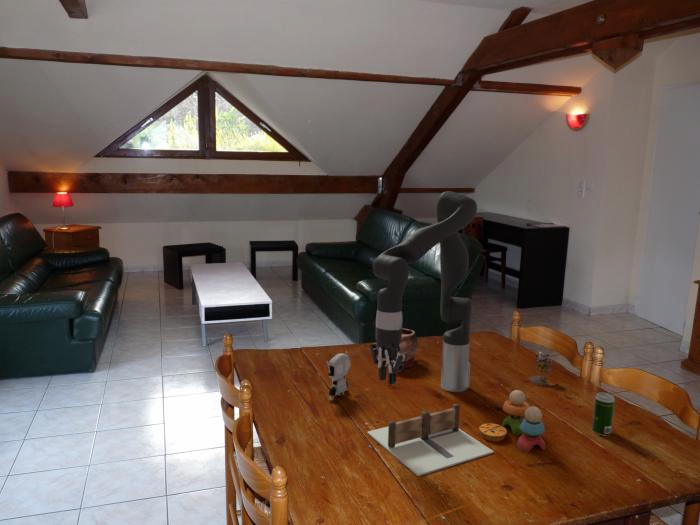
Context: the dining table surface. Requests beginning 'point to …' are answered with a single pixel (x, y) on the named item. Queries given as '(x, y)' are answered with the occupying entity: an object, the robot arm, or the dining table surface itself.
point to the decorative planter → (408, 346)
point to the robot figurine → (541, 369)
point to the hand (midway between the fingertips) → (387, 381)
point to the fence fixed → (440, 421)
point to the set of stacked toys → (518, 423)
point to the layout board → (433, 450)
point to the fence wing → (404, 430)
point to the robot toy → (338, 374)
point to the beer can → (603, 413)
